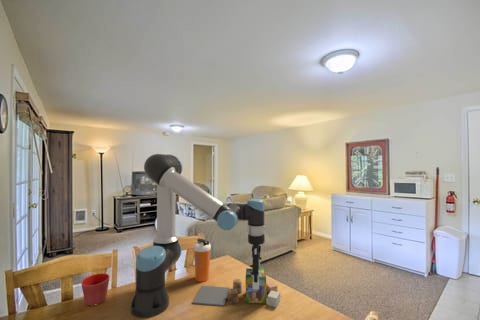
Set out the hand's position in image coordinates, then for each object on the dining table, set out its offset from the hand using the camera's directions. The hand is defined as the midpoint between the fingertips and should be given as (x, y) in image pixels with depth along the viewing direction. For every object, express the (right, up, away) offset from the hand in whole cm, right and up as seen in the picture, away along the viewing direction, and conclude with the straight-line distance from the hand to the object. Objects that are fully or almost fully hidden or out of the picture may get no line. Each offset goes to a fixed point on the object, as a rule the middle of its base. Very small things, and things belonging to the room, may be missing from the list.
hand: (256, 281), depth 107 cm
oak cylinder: (-9, -8, +5) cm, 13 cm away
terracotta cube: (+7, -8, +4) cm, 11 cm away
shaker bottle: (-28, -8, +17) cm, 33 cm away
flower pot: (-71, -7, -3) cm, 71 cm away
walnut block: (-11, -8, -2) cm, 13 cm away
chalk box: (0, -8, 0) cm, 8 cm away
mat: (-20, -8, +1) cm, 22 cm away
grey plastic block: (+7, -8, -4) cm, 11 cm away
